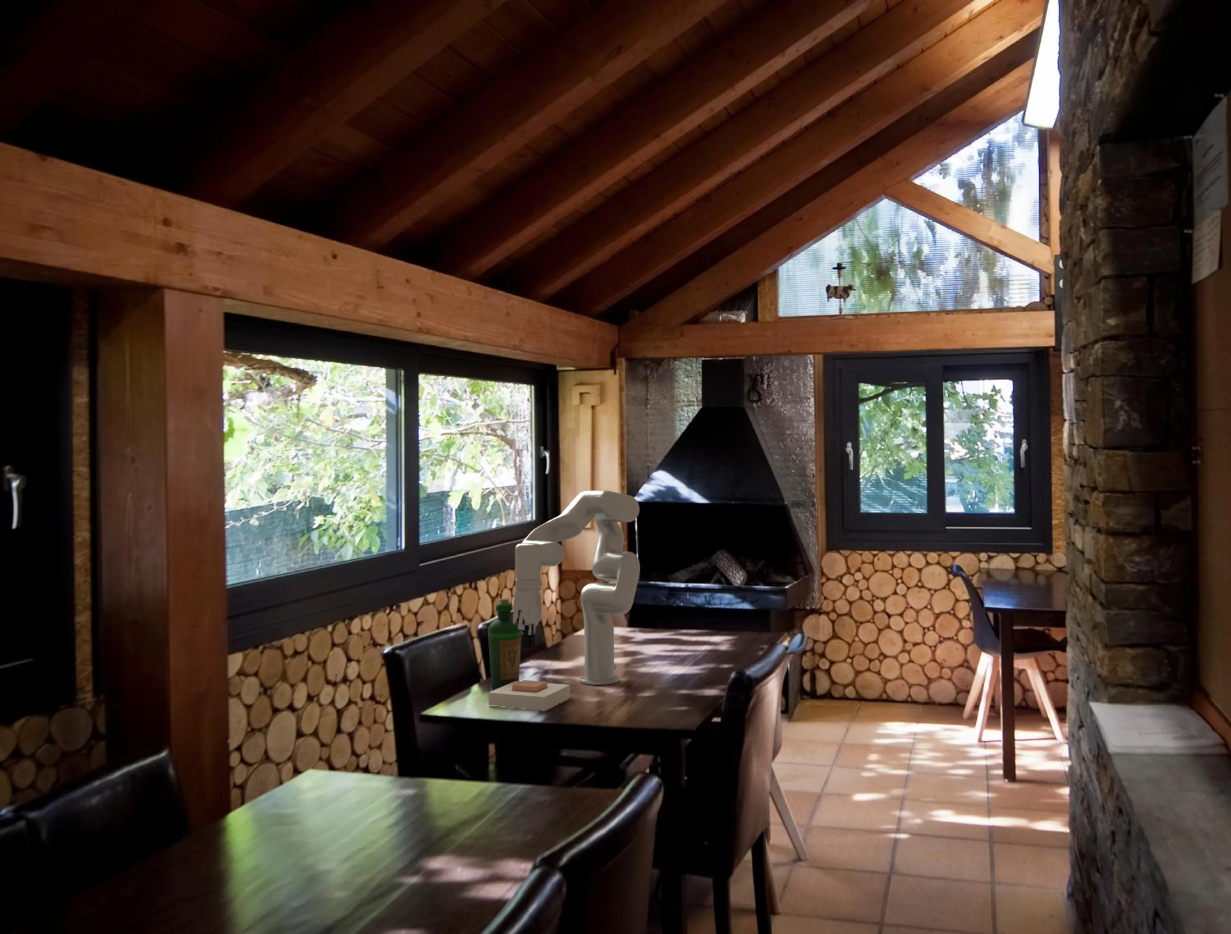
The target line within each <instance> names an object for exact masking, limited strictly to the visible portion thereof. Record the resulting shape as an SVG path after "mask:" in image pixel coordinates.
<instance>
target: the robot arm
mask: <svg viewBox="0 0 1231 934" xmlns="http://www.w3.org/2000/svg"><path fill="white" fill-rule="evenodd" d="M639 514H640V505H639V502H638V500H637V499H636V498H635V497H634V496H632V495H629V494H625V493H619V492H616V491H612V490H604V489H603V490H601V489H600V490H598V489H597V490H596V489H595V490H591V489H590V490H584V491H583V490H582V491H581V492H580V493H578V494H577V495H576V496H575V497H574V499H573V500H572V501H570V503H569V504H568V505H567V507H566V508H565V509H563V511H562V512H561V513H560V514H559V515H558V516H556V517H554V518H552V519H550V520H548V521H546V522H544V523H543V524H541V525H539V526H537V527H536V528H534V529H533V530H532V531H530V533H529V534H528V535H527V536H526V537H525V538H524V540H523V541H522V542H520V543H518V544H517V545H516V546H515V548H514V554H515V555H514V561H515V562H514V566H515V567H514V568H515V569H514V572H515V577H514V578H515V579H514V580H515V581H514V582H515V586H514V587H515V590H514V596H513V605H512V608H513V610H512V619H513V623H514V624H515V625H517V624H518V629H519V630H521V636H522V637H521V638H522V640H521V641H522V643H521V644H522V646H521V647H522V649H531V650H532V649H534V648H535V642H536V639H535V634H536V628H537V626H539V622H540V621H542V598H541V590H542V567H551V568H552V567H556V566H559V564H561V563H562V562H563V560H564V558H565V550H564V547H563V546H562V545H561V544H560V543H559V542H563V541H566V540H570V539H573V538H576V537H578V536H579V535H580V534H581V533H582V532H583V530H585V529H586V527H587V526H588V525H589V523H590V522H592V520H594V522H595V524H596V527H597V529H598V530H597V531H598V538H597V539H598V540H597V545H596V549H595V553H594V558H593V561H592V575H593V576H594V577H595V578H597V579H599V580H602V581H603V580H604V581H616V583H610V582H597V581H596V582H590V583H588V584H585V586H584V587H583V588H582V589H581V592H580V605H581V609H582V614H583V627H584V629H583V631H584V632H583V635H584V646H583V647H584V675H582V676H581V677H579V681H580V683H582V684H585V685H590V686H591V685H592V686H593V685H595V686H596V685H598V686H599V685H600V686H601V685H602V686H603V685H604V686H605V685H613V684H616V683H619V682H620V677H619V675H616V674H615V671H616V670H617V669H618V667H617V665H616V664H615V633H614V632H615V628H614V627H615V625H614V622H613V619H612V617H611V615H612V614H613V615H626V614H627V613H628V612H630V610H631V609H632V606H633V604H634V600H635V595H636V591H637V586H638V581H639V578H640V573H641V572H640V571H641V570H640V569H641V566H640V565H641V564H640V560H639V557H638V556H637V555H636V554H635V553H634V552H632V551H628V550H627V551H626V550H625V551H623V549H624V544H625V535H624V532H623V529H622V527H621V525H620V524H619V523H631V522H633V521H635V520H636V519H637V517H638V516H639ZM610 614H611V615H610Z"/></svg>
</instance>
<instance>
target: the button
mask: <svg viewBox="0 0 1231 934" xmlns="http://www.w3.org/2000/svg"><path fill="white" fill-rule="evenodd" d="M547 683H548V681H543V680H542V681H541V680H530V679H529V680H528V679H525V680H521V682H519V683H516V684H514V685H512V691H521V692H533V693H537V692H539V691H541V690H543V689H546V688H547Z"/></svg>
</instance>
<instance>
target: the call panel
mask: <svg viewBox="0 0 1231 934" xmlns="http://www.w3.org/2000/svg"><path fill="white" fill-rule="evenodd" d="M521 681H522V680H521ZM521 681H520V680H519V681H515V682H512V683H510V684H508V685H505V686H503V687H501V688H498V689H496V690H495V689H493V690H492V691H489V692H488V706H489V705H497V706H505V707H513V708H512V709H514V708H525V709H530V710H529V711H537V710H541V711H540V712H546V711H548V710H550V709H552V708H554V707H556V706H558V705H559V703H560V704H562V703H563V702H566V701H568V700H569V698H570V699H571V685H570V684H565V683H564V684H563V683H549V682H547V688H546V689H543V690H541V691H539V692H537V693H533V692H521V691H512V685H514V684H516V683H519V682H521ZM555 705H556V706H555ZM525 709H524V710H525ZM545 710H546V711H545Z"/></svg>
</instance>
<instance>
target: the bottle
mask: <svg viewBox="0 0 1231 934" xmlns="http://www.w3.org/2000/svg"><path fill="white" fill-rule="evenodd" d="M495 611H496V612H497V618H496V619H495V620H494V621H492V622H491V623H490V625H489V626H488V628H487V638H488V639H487V641H488V653H489V655H488V656H489V665H490V666H489V667H490V668H489V669H490V683H491V688H492V689H493V690H495V689H498V688H501V687H503V686H505V685H508V684H510V683H512V682H515V681H520V667H521V666H520V665H521V664H520V663H521V644H522V643H521V641H522V640H521V638H522V637H521V636H522V633H521V630H519V629H518V624H517V625H515V624H514V623H513V618H512V616H511V615H512V612H513V604H512V602H511V601H510V598H507V597H504V598H503V597H502V598H498V602H497V603H496V606H495Z"/></svg>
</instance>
